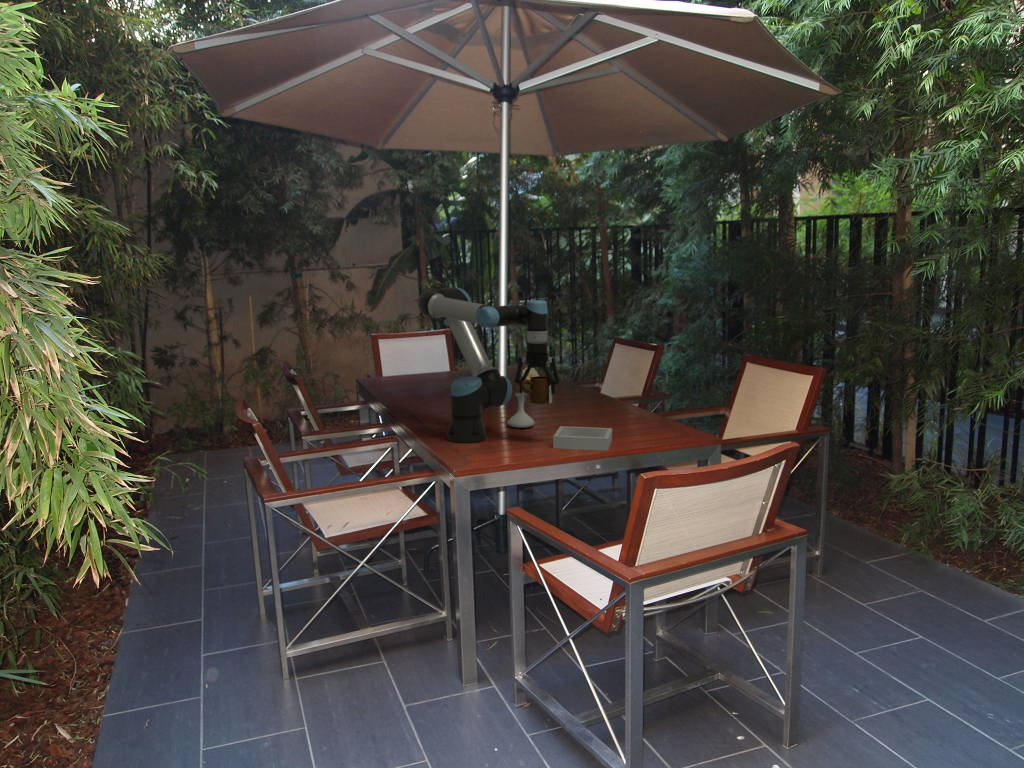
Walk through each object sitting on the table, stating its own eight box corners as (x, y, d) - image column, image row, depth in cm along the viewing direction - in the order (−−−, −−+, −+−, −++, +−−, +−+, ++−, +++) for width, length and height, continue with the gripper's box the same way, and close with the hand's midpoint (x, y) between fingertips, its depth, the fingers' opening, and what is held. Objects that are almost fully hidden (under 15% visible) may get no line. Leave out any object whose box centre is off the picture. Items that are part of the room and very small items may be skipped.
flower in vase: (510, 430, 325) (510, 369, 321) (504, 424, 336) (504, 365, 332) (541, 428, 327) (541, 368, 323) (535, 423, 338) (535, 364, 334)
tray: (553, 448, 294) (553, 436, 293) (560, 437, 311) (560, 426, 311) (607, 450, 290) (608, 438, 289) (612, 439, 307) (612, 428, 307)
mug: (525, 406, 294) (525, 380, 292) (516, 402, 300) (516, 377, 299) (554, 403, 299) (554, 378, 298) (544, 400, 306) (544, 375, 305)
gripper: (505, 342, 295) (506, 402, 298) (565, 343, 290) (565, 404, 294) (510, 340, 302) (510, 399, 306) (568, 341, 298) (568, 401, 301)
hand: (537, 402), depth 300 cm, fingers closed on mug, 9 cm apart
